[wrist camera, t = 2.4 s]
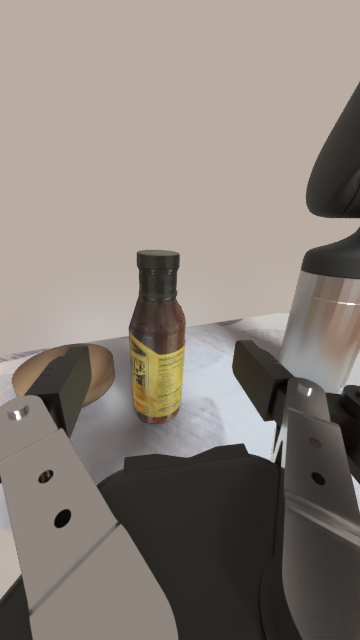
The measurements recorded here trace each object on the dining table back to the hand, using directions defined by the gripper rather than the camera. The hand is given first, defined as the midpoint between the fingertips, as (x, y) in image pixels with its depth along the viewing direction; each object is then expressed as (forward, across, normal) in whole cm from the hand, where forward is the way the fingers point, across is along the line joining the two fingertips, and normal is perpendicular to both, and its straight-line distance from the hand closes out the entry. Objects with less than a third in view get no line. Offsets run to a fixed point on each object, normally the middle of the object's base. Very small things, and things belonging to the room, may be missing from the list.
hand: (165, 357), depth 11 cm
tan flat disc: (+19, +13, +15) cm, 27 cm away
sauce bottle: (+12, 0, +15) cm, 19 cm away
